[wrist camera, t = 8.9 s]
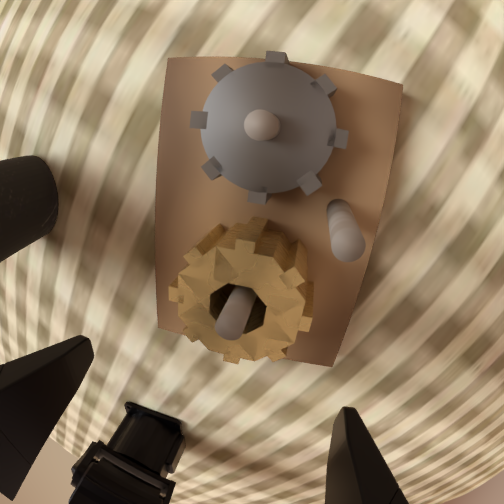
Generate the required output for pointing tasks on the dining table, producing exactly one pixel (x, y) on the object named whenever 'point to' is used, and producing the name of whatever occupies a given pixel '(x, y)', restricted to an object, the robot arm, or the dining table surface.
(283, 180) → the gear board
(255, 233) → the brass gear
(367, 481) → the robot arm
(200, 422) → the dining table surface
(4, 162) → the travel mug
